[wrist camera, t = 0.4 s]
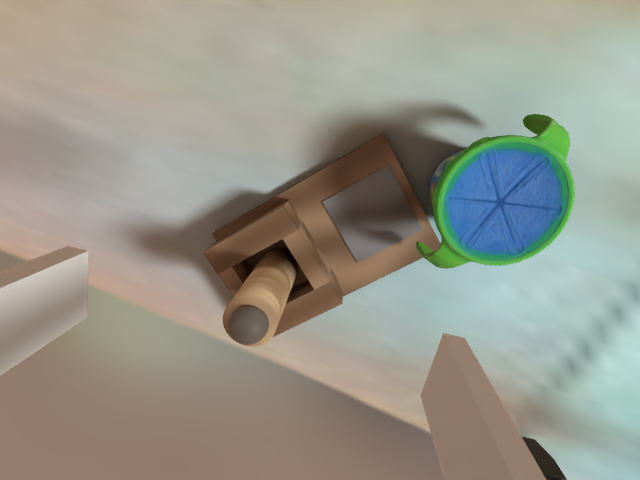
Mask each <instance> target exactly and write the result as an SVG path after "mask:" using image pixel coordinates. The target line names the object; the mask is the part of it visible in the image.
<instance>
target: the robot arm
mask: <svg viewBox="0 0 640 480" xmlns="http://www.w3.org/2000/svg"><path fill="white" fill-rule="evenodd" d="M86 317H88V251H87V250H82V249H78V248H74V247H69V246H67V247H65V248H62V249H59V250H57V251H54V252H51V253H49V254H46V255H43V256H41V257H38V258H35V259H33V260H30V261H27V262H25V263H22V264H20V265H17V266H14V267H12V268H9V269H6V270H4V271H1V272H0V376H1V375H2V374H4V373H5V372H6V371H8V370H9V369H11V368H12V367H14V366H15V365H17V364H18V363H20V362H21V361H23V360H24V359H26V358H27V357H29V356H30V355H32V354H33V353H35V352H36V351H38V350H39V349H41V348H42V347H44V346H45V345H47V344H48V343H49V342H51V341H52V340H54V339H55V338H57V337H58V336H60V335H61V334H63V333H64V332H66V331H67V330H69V329H70V328H72V327H73V326H75V325H76V324H78V323H79V322H81V321H82V320H84V319H85V318H86ZM421 398H422V402H423V405H424V409H425V413H426V416H427V420H428V424H429V427H430V431H431V434H432V438H433V442H434V445H435V449H436V453H437V456H438V460H439V463H440V467H441V470H442V474H443V478H444V480H567V479H566V478H565V476H564V474H563V473H562V471H561V470H560V468H559V467H558V465H557V463H556V462H555V460H554V459H553V458H552V457H551V456H550V455H549V454H548V453H547V452H546V451H545V450H544V449H543V448H542V447H541V445H540V444H539V443H538V442H537V441H536V440H534V439H530V438H525V437H521V435H520V433H519V431H518V430H517V428H516V426H515V425H514V423H513V421H512V419H511V418H510V416H509V414H508V412H507V411H506V409H505V407H504V405H503V404H502V402H501V400H500V399H499V397H498V395H497V393H496V392H495V390H494V388H493V386H492V385H491V383H490V381H489V379H488V378H487V376H486V374H485V373H484V371H483V369H482V367H481V366H480V364H479V362H478V360H477V359H476V357H475V355H474V353H473V352H472V350H471V348H470V347H469V345H468V343H467V341H466V340H465V338H462V337H458V336H453V335H449V334H445V333H443V336H442V338H441V341H440V344H439V347H438V349H437V352H436V355H435V358H434V360H433V363H432V366H431V369H430V371H429V374H428V377H427V380H426V382H425V385H424V388H423V391H422V393H421Z"/></svg>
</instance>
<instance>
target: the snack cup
mask: <svg viewBox="0 0 640 480" xmlns="http://www.w3.org/2000/svg"><path fill="white" fill-rule="evenodd" d="M523 123H524V126H525V127H526V128H528V129H529V130H530V131H532V132H533V133H535V134H537V136H535V137H532V138H530V137H524V136H515V135H506V136H497V137H492V138H489V137H485V138H482V139H480V140H478V141H476V142H474V143H472V144H471V145H470V146H469V147H468V148H466V149H464V150H461V151H458V152H456V153H453V154H452V155H450V156H448V157H447V158H446V159H445V160H443V161H442V162H441V163H440V164H439V165H438V167H437V169H436V170H435V172H434V174H433V176H432V178H431V182H430V185H429V186H430V199H431V202H432V205H433V213H434V219H435V222H436V226H437V228H438V230H439V232H440V234H441V236H442V242H441V244H440V246H439V248H438V249H437V251H434V252H433V251H432V250H431V249H430V248H429V247H428V246H426V245H425V244H423V243H422V242H419V241H418V242H416V248H417V250H418V252H419V253H420V254H421V255H422V256H423V257H424V258H425V259H427V260H428V261H429V262H431V263H432V264H434V265H435V266H437V267H439V268H453V267H456V266H460V265H462V264H465V263H467V262H477V263H480V264H485V265H499V266H500V265H508V264H513V263H517V262H521V261H523V260H525V259H528V258H530V257H532V256H534V255H535V254H537V253H539V252H540V251H542V250H543V249H545V248H546V247H547V246H549V245H550V244H551V243H552V242H553V241H554V240H555V238H556V237H557V236H558V235H559V234H560V233H561V231H562V230H563V228H564V226H565V225H566V223H567V221H568V219H569V216H570V214H571V211H572V207H573V202H574V194H575V192H574V189H575V187H574V181H573V177H572V174H571V171H570V169H569V167H568V165H567V163H566V157H567V154H568V151H569V146H570V138H569V134H568V132H567V131H566V130H565V129H564V128H563V127H562V126H560V125H559V124H558V123H557V122H556V121H555V120H554V119H552V118H550V117H548V116H545V115H540V114H532V115H527V116H526V117H524V119H523Z"/></svg>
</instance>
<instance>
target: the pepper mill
mask: <svg viewBox="0 0 640 480" xmlns="http://www.w3.org/2000/svg"><path fill="white" fill-rule="evenodd" d="M298 269H299V264H298V263H297V261H296V259H295V258H294V256H293V255H292V253H291V251H290V250H289V249H287V248H285V247H274V248H271V249H269V250H268V251H267V252H266V253H265V254H264V255H263V257H262V258H261V260H260V261H259V262H258V264H257V265H256V267H255V268H254V270H253V271H252V272H251V274H250V275H249V277H248V278H247V279H246V281H245V282H244V284H243V285H242V286H241V288H240V289H239V291H238V292H237V294H236V295H235V296H234V298H233V299H232V301H231V302H230V303H229V305H228V306H227V308H226V309H225V311H224V314H223V325H224V328H225V330H226V332H227V333H228V335H229V336H230V337H231V338H232V339H233V340H235V341H236V342H238V343H240V344H242V345H246V346H259V345H262V344H265V343H266V342H268V341H269V340H270V339H271V338H272V337H273V336H274V334H275V331H276V329H277V326H278V323H279V321H280V318H281V315H282V313H283V310H284V307H285V305H286V302H287V299H288V296H289V294H290V291H291V288H292V286H293V283H294V280H295V278H296V275H297V272H298Z"/></svg>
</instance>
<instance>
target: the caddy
mask: <svg viewBox="0 0 640 480" xmlns="http://www.w3.org/2000/svg"><path fill="white" fill-rule="evenodd" d="M212 235H213V236H214V238H215V239H216V241H217V242H215V243H214V244H213V245H212V246H210V247H209V248H208V249H207V250H205V251H204V252H203V253H204V255H205V256H206V258H207V259H208V261H209V262H210V263H211V265H212V266H213V268H214V269H215V271H216V272H217V274H218V275H219V276H220V278H221V279H222V281H223V282H224V284H225V285H226V287H227V288H228V289H229V291H230V292H231V294H232V295H233V297H234V296H235V295H236V294H237V292H238V291H239V289H240V288H241V286H242V285H243V284H244V282H245V281H246V279H247V278H248V277H249V275H250V274H251V272H252V271H253V270H254V268H255V267H256V265H257V264H258V262H259V261H260V260H261V258H262V257H263V255H264V254H265V253H266V252H267V251H268V250H269V249H271V248H274V247H285V248H287V249H289V250H290V251H291V253H292V255H293V256H294V258H295V259H296V261H297V263H298V264H299V269H298V272H297V275H296V278H295V280H294V283H293V286H292V288H291V291H290V294H289V296H288V299H287V302H286V305H285V307H284V310H283V313H282V315H281V318H280V321H279V323H278V326H277V329H276V331H275V334H274V336H276V335H278V334H280V333H282V332H285V331H287V330H289V329H291V328H293V327H295V326H297V325H299V324H301V323H303V322H305V321H307V320H309V319H311V318H314V317H316V316H318V315H320V314H322V313H324V312H326V311H328V310H330V309H332V308H334V307H336V306H338V305H340V304H342V298H343V296H345V295H347V294H349V293H351V292H353V291H355V290H357V289H359V288H361V287H364V286H366V285H368V284H370V283H372V282H374V281H376V280H378V279H380V278H382V277H384V276H386V275H388V274H390V273H392V272H394V271H396V270H398V269H400V268H403V267H405V266H407V265H409V264H411V263H413V262H415V261H417V260H419V259H421V258H423V256H422V255H421V254H420V253H419V252H418V250H417V248H416V242H418V241H419V242H422V243H423V244H425V245H426V246H428V247H429V248H430V249H431V250H432V251H433V252H434V251H437V249H438V248H439V246H440V242H439V240H438V238H437V236H436V235H435V233H434V231H433V229H432V227H431V225H430V223H429V221H428V219H427V217H426V215H425V213H424V211H423V209H422V207H421V205H420V203H419V201H418V199H417V197H416V195H415V193H414V191H413V189H412V188H411V186H410V184H409V182H408V180H407V178H406V176H405V174H404V172H403V170H402V168H401V166H400V164H399V162H398V160H397V158H396V156H395V154H394V152H393V150H392V148H391V146H390V144H389V142H388V140H387V139H386V137H385V135H384V133H383V134H381V135H379V136H378V137H376V138H374V139H373V140H371V141H369V142H367V143H366V144H364V145H362V146H361V147H359V148H357V149H356V150H354V151H352V152H350V153H349V154H347V155H345V156H344V157H342V158H340V159H338V160H337V161H335V162H333V163H332V164H330V165H328V166H326V167H325V168H323V169H321V170H320V171H318V172H316V173H315V174H313V175H311V176H309V177H308V178H306V179H304V180H303V181H301V182H299V183H297V184H296V185H294V186H292V187H291V188H289V189H287V190H286V191H284V192H282V193H280V194H279V195H277V196H275V197H274V198H272V199H270V200H268V201H267V202H265V203H263V204H262V205H260V206H258V207H256V208H255V209H253V210H251V211H250V212H248V213H246V214H245V215H243V216H241V217H239V218H238V219H236V220H234V221H233V222H231V223H229V224H227V225H226V226H224V227H222V228H221V229H219V230H217V231H216V232H214V233H213V234H212ZM274 336H273V337H274Z"/></svg>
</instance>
